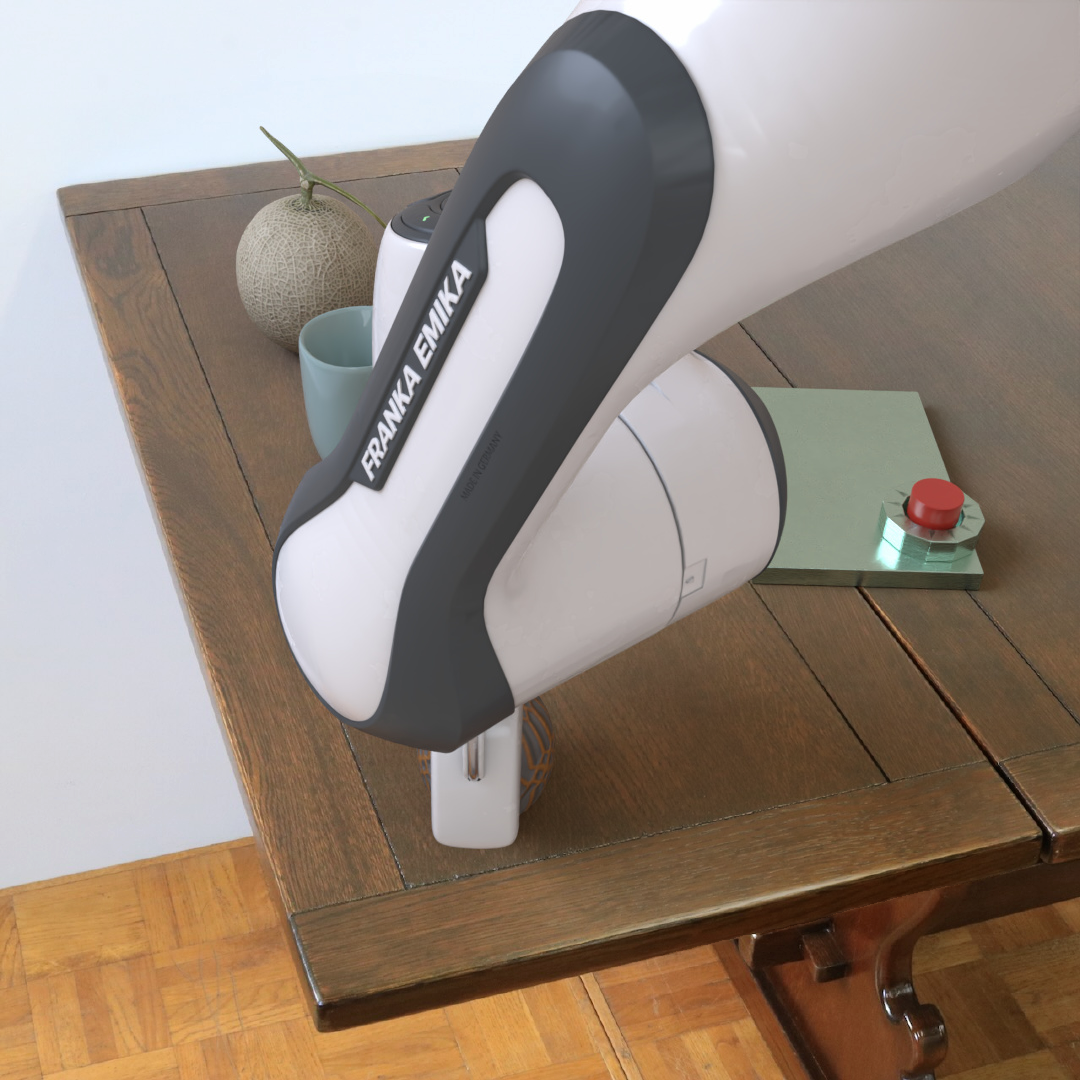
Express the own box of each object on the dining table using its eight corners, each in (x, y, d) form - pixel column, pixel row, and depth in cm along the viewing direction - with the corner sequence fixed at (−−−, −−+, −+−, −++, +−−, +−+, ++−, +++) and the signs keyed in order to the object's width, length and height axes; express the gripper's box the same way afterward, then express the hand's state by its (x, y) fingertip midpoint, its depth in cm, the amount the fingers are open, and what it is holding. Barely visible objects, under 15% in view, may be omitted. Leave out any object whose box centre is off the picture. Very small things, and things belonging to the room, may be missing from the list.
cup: (401, 419, 94) (394, 295, 88) (444, 480, 89) (441, 352, 82) (295, 446, 91) (281, 319, 85) (334, 510, 86) (321, 380, 80)
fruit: (373, 388, 97) (361, 197, 88) (225, 368, 99) (196, 179, 89) (412, 317, 105) (404, 135, 96) (274, 299, 107) (253, 119, 97)
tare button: (963, 532, 82) (970, 510, 81) (911, 530, 82) (917, 508, 81) (952, 500, 84) (958, 478, 83) (902, 498, 84) (907, 476, 83)
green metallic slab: (986, 590, 82) (998, 553, 80) (752, 583, 82) (758, 546, 80) (920, 407, 97) (928, 372, 95) (723, 401, 97) (727, 366, 95)
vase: (433, 734, 72) (428, 616, 66) (560, 750, 71) (566, 631, 65) (406, 837, 66) (398, 718, 61) (542, 855, 66) (547, 736, 60)
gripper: (556, 720, 50) (546, 932, 59) (559, 411, 65) (550, 615, 74) (388, 715, 50) (403, 928, 59) (431, 407, 65) (438, 612, 74)
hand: (486, 751), depth 67 cm, fingers closed on vase, 7 cm apart
